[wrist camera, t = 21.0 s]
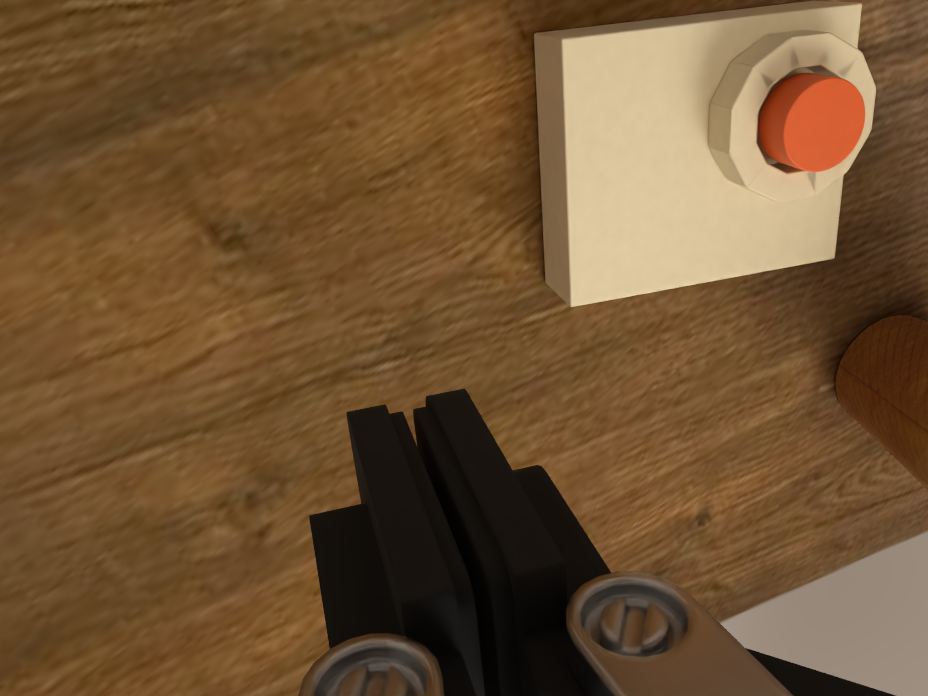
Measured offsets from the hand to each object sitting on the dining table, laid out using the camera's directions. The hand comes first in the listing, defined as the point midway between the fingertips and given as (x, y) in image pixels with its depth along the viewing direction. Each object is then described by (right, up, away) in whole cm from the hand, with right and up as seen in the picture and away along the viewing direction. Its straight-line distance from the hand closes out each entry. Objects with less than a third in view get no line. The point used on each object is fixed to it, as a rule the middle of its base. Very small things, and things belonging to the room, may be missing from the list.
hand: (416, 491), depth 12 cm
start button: (+14, +11, +22) cm, 29 cm away
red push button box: (+10, +11, +26) cm, 30 cm away
